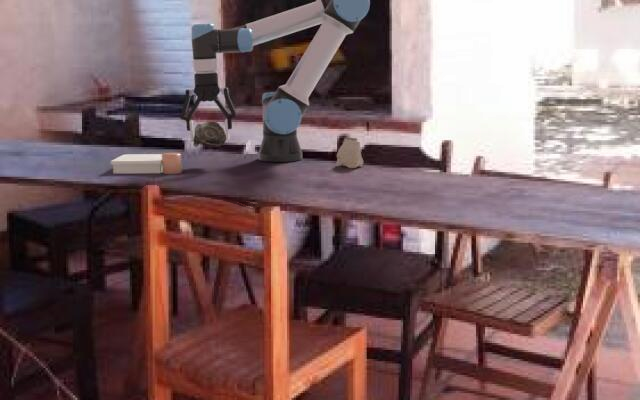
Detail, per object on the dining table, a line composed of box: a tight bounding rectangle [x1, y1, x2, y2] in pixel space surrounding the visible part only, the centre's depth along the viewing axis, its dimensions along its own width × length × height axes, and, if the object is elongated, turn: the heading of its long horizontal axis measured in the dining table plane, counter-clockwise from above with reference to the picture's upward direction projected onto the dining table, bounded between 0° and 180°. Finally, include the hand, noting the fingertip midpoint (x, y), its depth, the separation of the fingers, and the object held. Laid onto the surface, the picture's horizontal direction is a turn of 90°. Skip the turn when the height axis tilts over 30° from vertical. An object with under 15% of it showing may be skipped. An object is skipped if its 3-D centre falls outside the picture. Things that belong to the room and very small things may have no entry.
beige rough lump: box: [336, 137, 364, 169], centre depth 299 cm, size 9×8×10 cm
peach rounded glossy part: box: [161, 152, 183, 175], centre depth 292 cm, size 6×6×6 cm
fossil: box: [193, 120, 227, 149], centre depth 302 cm, size 11×9×10 cm
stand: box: [110, 153, 163, 175], centre depth 299 cm, size 16×16×4 cm
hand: (210, 140), depth 302 cm, fingers closed on fossil, 11 cm apart
